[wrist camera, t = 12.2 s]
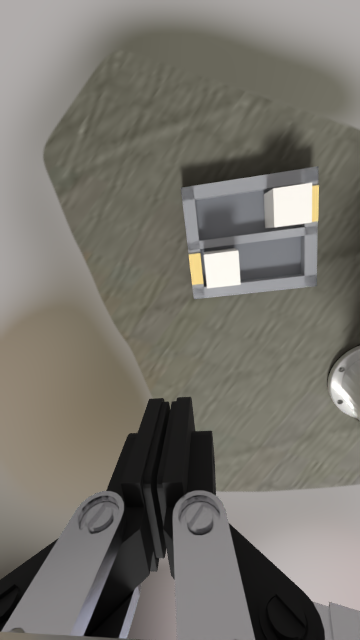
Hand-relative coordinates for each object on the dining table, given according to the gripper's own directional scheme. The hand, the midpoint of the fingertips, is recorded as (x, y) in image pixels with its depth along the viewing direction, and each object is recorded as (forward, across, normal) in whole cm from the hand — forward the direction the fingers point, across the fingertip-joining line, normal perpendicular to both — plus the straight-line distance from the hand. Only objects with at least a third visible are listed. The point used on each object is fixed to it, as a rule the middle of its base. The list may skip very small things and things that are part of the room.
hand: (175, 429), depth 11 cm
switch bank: (+31, -7, -6) cm, 32 cm away
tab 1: (+29, -3, -3) cm, 30 cm away
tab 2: (+29, -11, -9) cm, 33 cm away
